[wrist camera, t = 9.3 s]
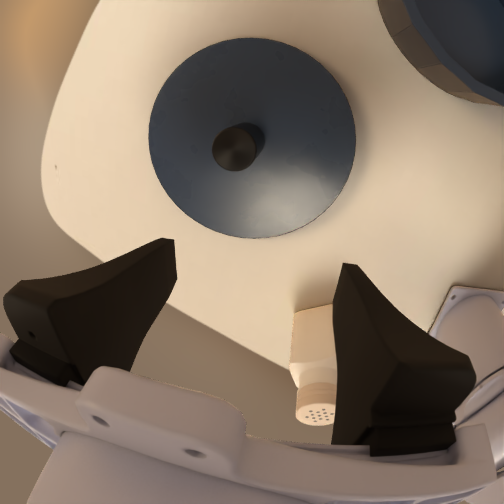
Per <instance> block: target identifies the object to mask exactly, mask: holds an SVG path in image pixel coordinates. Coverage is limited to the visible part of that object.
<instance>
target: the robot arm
mask: <svg viewBox="0 0 504 504" xmlns="http://www.w3.org/2000/svg"><path fill="white" fill-rule="evenodd" d="M176 280H177V271H176V258H175V245H174V240H173V239H166V238H160V239H157V240H154V241H152V242H150V243H147V244H145V245H143V246H141V247H139V248H137V249H135V250H133V251H131V252H128V253H126V254H124V255H122V256H119V257H117V258H115V259H113V260H110V261H108V262H106V263H103V264H100V265H98V266H95V267H92V268H89V269H86V270H82V271H79V272H75V273H71V274H67V275H62V276H57V277H52V278H44V279H34V280H21V281H20V282H19V283H17V284H16V285H15V286H14V287H13V288H12V289H11V290H10V291H9V292H8V293H6V294H5V296H4V297H3V305H4V309H5V312H6V314H7V316H8V319H9V321H10V323H11V325H12V327H13V328H14V330H15V332H16V334H17V336H18V338H19V339H18V340H17V342H16V343H14V342H13V341H12V340H11V339H10V338H9V337H7V336H5V335H4V334H2V333H1V332H0V410H2V411H3V412H4V413H5V414H7V415H8V416H9V417H10V418H11V419H13V420H14V421H15V422H16V423H18V424H19V425H20V426H21V427H23V428H24V429H25V430H27V431H28V432H29V433H31V434H32V435H34V436H35V437H36V438H38V439H39V440H40V441H42V442H43V443H44V444H46V445H47V446H49V447H50V448H52V449H53V452H52V454H51V456H50V458H49V460H48V461H47V463H46V465H45V467H44V469H43V471H42V473H41V475H40V477H39V479H38V481H37V483H36V485H35V486H34V489H33V490H32V493H31V495H30V497H29V499H28V501H27V503H26V504H457V503H459V502H461V501H463V500H466V502H468V503H470V504H504V471H501V472H497V473H496V471H497V470H499V469H501V468H502V467H504V315H503V314H502V310H503V308H504V291H498V290H489V289H480V288H472V287H463V286H453V287H452V288H451V289H450V291H449V293H448V296H447V298H446V300H445V302H444V304H443V306H442V308H441V310H440V312H439V314H438V316H437V318H436V320H435V322H434V324H433V326H432V328H431V330H430V332H429V334H428V333H426V332H425V331H423V330H422V329H421V328H419V327H418V326H417V325H415V324H414V323H413V322H411V321H410V320H409V319H408V318H407V317H405V316H404V315H403V314H402V313H401V312H400V311H399V310H398V309H396V308H395V307H394V306H393V305H392V304H391V303H390V301H389V300H388V299H387V298H386V297H385V296H384V295H383V294H382V293H381V292H380V291H379V290H378V288H377V287H376V286H375V285H374V284H373V283H372V281H371V280H370V279H369V278H368V277H367V275H366V274H365V273H364V272H363V271H362V270H361V268H360V267H359V266H358V265H355V264H348V263H343V265H342V269H341V273H340V277H339V281H338V284H337V288H336V292H335V295H334V299H333V310H332V323H333V333H334V342H335V351H336V361H337V391H336V406H335V417H334V426H333V435H332V441H331V445H325V444H310V443H298V442H288V441H280V440H272V439H265V438H258V437H255V436H252V435H248V434H246V433H245V431H246V421H245V419H244V417H243V415H242V413H241V411H240V410H239V409H237V408H236V407H234V406H233V405H231V404H230V403H229V402H227V401H226V400H224V399H221V398H218V397H215V396H212V395H209V394H207V393H204V392H199V391H195V390H191V389H187V388H183V387H179V386H175V385H172V384H168V383H164V382H161V381H157V380H154V379H150V378H147V377H144V376H140V375H137V374H134V373H131V372H130V370H131V367H132V365H133V362H134V359H135V357H136V355H137V352H138V350H139V348H140V346H141V344H142V341H143V339H144V337H145V336H146V334H147V332H148V330H149V329H150V327H151V325H152V324H153V322H154V321H155V319H156V317H157V316H158V314H159V312H160V311H161V309H162V308H163V306H164V305H165V303H166V301H167V300H168V298H169V296H170V294H171V292H172V290H173V288H174V285H175V283H176ZM453 295H454V296H453ZM452 296H453V297H452ZM453 424H454V425H453Z"/></svg>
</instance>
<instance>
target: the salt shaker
mask: <svg viewBox="0 0 504 504" xmlns="http://www.w3.org/2000/svg"><path fill="white" fill-rule="evenodd" d="M332 310H333V304H330V305H325V306H320V307H316V308H311V309H306V310H302V311H298V312H296V313H295V314H294V318H293V330H292V341H291V351H290V362H289V369H290V372H291V375H292V377H293V380H294V382H295V384H296V386H297V387H298V391H297V406H296V418H297V419H298V420H299V421H301V422H302V423H305V424H309V425H327V424H331V423H334V417H335V406H336V391H337V361H336V351H335V342H334V333H333V323H332Z"/></svg>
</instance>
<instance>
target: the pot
mask: <svg viewBox="0 0 504 504" xmlns="http://www.w3.org/2000/svg"><path fill="white" fill-rule="evenodd" d="M378 4H379V8H380V12H381V15H382V18H383V21H384V23H385V25H386V27H387V29H388V32H389V34H390V35H391V37H392V39H393V40H394V42H395V44H396V45H397V46H398V48H399V49H400V51H401V52H402V54H403V55H404V56H405V57H406V58H407V59H408V61H409V62H410V63H411V64H412V65H413V66H414V67H415V68H416V69H417V70H418V71H419V72H420V73H421V74H422V75H423V76H424V77H426V78H427V79H428V80H429V81H430V82H432V83H433V84H435V85H436V86H437V87H439V88H441V89H442V90H444V91H445V92H448V93H450V94H452V95H454V96H456V97H459V98H462V99H466V100H468V101H471V102H474V103H482V104H489V105H496V106H502V107H504V0H378Z"/></svg>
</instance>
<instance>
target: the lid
mask: <svg viewBox="0 0 504 504" xmlns="http://www.w3.org/2000/svg"><path fill="white" fill-rule="evenodd" d="M355 146H356V134H355V124H354V120H353V115H352V111H351V109H350V106H349V103H348V101H347V98H346V96H345V94H344V93H343V91H342V89H341V87H340V86H339V84H338V83H337V82H336V80H335V79H334V78H333V76H332V75H331V74H330V73H329V72H328V71H327V70H326V69H325V68H324V67H323V66H322V65H321V64H320V63H319V62H318V61H316V60H315V59H314V58H312V57H311V56H309V55H308V54H306V53H304V52H303V51H301V50H299V49H297V48H295V47H293V46H290V45H287V44H285V43H282V42H278V41H274V40H269V39H262V38H237V39H232V40H227V41H222V42H219V43H216V44H213V45H210V46H208V47H206V48H204V49H202V50H200V51H198V52H197V53H195V54H194V55H192V56H191V57H189V58H188V59H186V60H185V61H184V62H183V63H182V64H181V65H179V66H178V67H177V68H176V69H175V70H174V72H173V73H172V74H171V75H170V76H169V78H168V79H167V80H166V82H165V83H164V85H163V86H162V88H161V90H160V92H159V94H158V96H157V98H156V100H155V103H154V106H153V109H152V113H151V117H150V123H149V150H150V155H151V160H152V164H153V167H154V169H155V172H156V175H157V177H158V179H159V181H160V183H161V185H162V187H163V188H164V190H165V191H166V193H167V194H168V196H169V197H170V198H171V199H172V201H173V202H174V203H175V204H176V205H177V206H178V207H179V208H180V209H181V210H182V211H183V212H184V213H185V214H187V215H188V216H189V217H191V218H192V219H193V220H195V221H196V222H198V223H200V224H201V225H203V226H205V227H207V228H209V229H212V230H214V231H216V232H219V233H222V234H226V235H229V236H234V237H240V238H253V239H255V238H269V237H274V236H280V235H283V234H286V233H290V232H292V231H295V230H297V229H299V228H301V227H303V226H305V225H307V224H308V223H310V222H312V221H313V220H315V219H316V218H317V217H318V216H320V215H321V214H322V213H323V212H325V211H326V209H327V208H328V207H329V206H330V205H331V204H332V203H333V202H334V201H335V199H336V198H337V197H338V195H339V194H340V192H341V191H342V189H343V187H344V185H345V183H346V182H347V180H348V177H349V174H350V171H351V169H352V165H353V161H354V156H355Z"/></svg>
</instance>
